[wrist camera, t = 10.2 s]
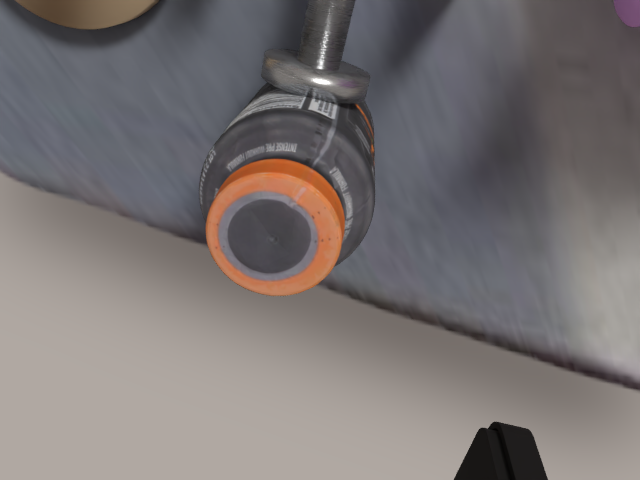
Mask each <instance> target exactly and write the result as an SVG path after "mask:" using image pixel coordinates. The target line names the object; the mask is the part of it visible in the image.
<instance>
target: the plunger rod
mask: <svg viewBox="0 0 640 480" xmlns="http://www.w3.org/2000/svg"><path fill="white" fill-rule="evenodd" d="M354 3H355V0H309V1H308V6H307V11H306V16H305V21H304V26H303V31H302V37H301V42H300V47H299V51H296V50H288V49H271V50H267V51H265V54H264V60H263V66H262V72H261V77H262V78H263V79H264V80H265V81H266V82H268V83H269V84H271V85H273V86H275V87H277V88H280V89H282V90H285V91H287V92H290V93H293V94H296V95H300V96H304V97H309V98H312V99H316V100H321V101H327V102H335V103H359V102H362V101H364V100H365V97H366V93H367V89H368V86H369V82H370V78H371V76H370V75H369V74H368V73H367V72H366V71H364V70H362V69H361V68H358V67H356V66H354V65H351V64H349V63H346V62H343V61H341V60H342V55H343V51H344V47H345V42H346V38H347V34H348V29H349V25H350V21H351V16H352V12H353V8H354Z"/></svg>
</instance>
